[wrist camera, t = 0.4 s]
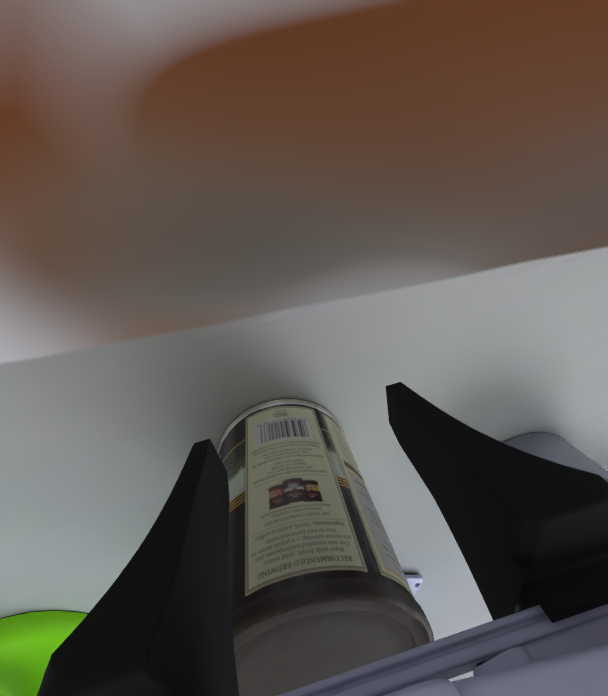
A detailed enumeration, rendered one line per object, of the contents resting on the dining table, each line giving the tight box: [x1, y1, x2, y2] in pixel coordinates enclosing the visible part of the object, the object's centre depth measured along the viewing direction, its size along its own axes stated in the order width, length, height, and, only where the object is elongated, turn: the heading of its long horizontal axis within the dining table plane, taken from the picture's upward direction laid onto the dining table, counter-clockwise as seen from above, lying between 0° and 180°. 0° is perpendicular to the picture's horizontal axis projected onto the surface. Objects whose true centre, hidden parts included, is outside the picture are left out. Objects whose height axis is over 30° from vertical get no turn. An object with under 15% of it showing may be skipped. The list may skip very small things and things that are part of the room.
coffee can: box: [217, 399, 434, 696], centre depth 20 cm, size 10×10×14 cm
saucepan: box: [503, 432, 608, 481], centre depth 30 cm, size 12×22×8 cm, turn 75°
